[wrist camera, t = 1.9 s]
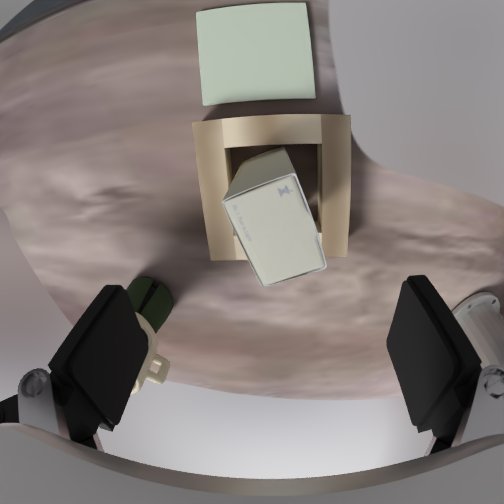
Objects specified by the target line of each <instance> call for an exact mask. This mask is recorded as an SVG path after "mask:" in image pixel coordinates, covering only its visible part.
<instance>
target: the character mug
mask: <svg viewBox="0 0 504 504" xmlns="http://www.w3.org/2000/svg"><path fill="white" fill-rule="evenodd" d="M153 281H154V280H153V279H152V278H144V277H141V278H138V279H135V280H133V281H132V282H131V284H130V285H129V286H128V288H127V289H126V291H127V292H128V295H129V297H130V300H131V303H132V305H133V308H134V311H135V313H136V316H137V318H138V321H139V323H140V326H141V328H142V330H143V333H144V335H145V338H146V340H147V342H148V346H149V350H148V354H147V356H146V358H145V361H144V363H143V365H142V368H141V370H140V373H139V375H138V377H137V380H136V382H135V385H134V387H133V389H132V392H131V394H135V393H137V392H138V391H139V390H140V389H141V387H142V385H143V383H144V380H145V378H147V379H149V380H151V381H153V382H155V383H158V384H162V383H163V382H164V381H165V379H166V376H167V373H168V370H169V368H170V362H169V361H168V360H167V359H166V358H164V357H162V356H160V355H158V354H156V352H157V345H158V341H157V337H156V333H157V331H158V330H159V329H160V327H161V326H162V325H163V323H164V322H165V321H166V319H167V318H168V316H169V314H170V313H171V310H172V306H173V301H172V298H171V295H170V293H169V291H168V290H167V289H166V288H165V287H164V286H163V285H162V284H160V285H159V286H158V288H157V289H155V288H154V287H150V286H151V284H152V283H153ZM152 362H155V363H157V364H159V365H160V368H159V371H158V373H157V374H156V373H154V372H152V371H150V370H149V369H150V366H151V364H152Z"/></svg>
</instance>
